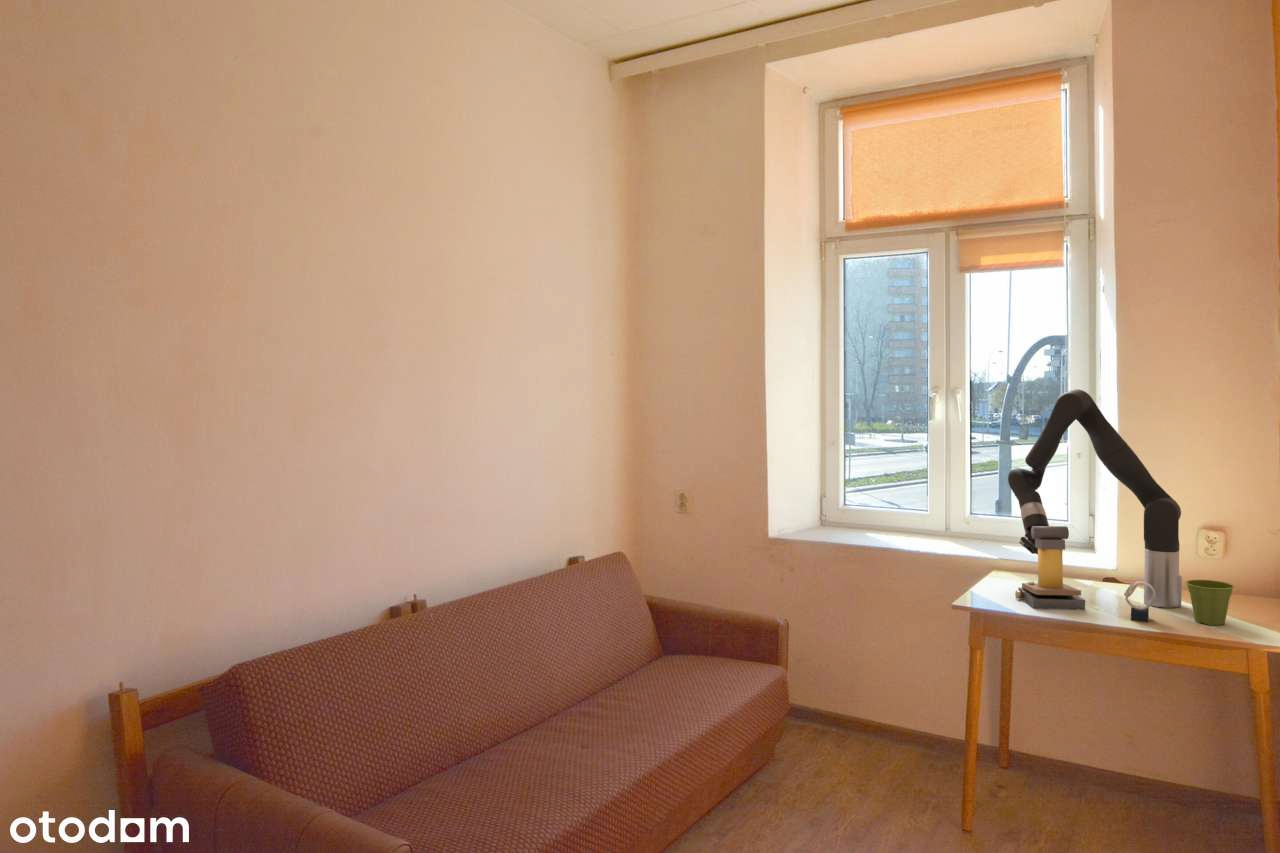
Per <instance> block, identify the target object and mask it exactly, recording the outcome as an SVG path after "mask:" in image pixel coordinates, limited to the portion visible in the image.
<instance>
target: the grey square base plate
mask: <svg viewBox="0 0 1280 853" xmlns="http://www.w3.org/2000/svg"><path fill="white" fill-rule="evenodd" d="M1014 595H1015V598H1016V599H1020V600H1022V601H1023V602H1025V603H1026V604H1027V605H1028V606H1029V607H1031V608H1032V609H1034V610H1035V609H1040V610H1041V609H1042V610H1077V609H1080V610H1081V611H1083V610H1086V599H1084V598H1083V597H1081V596H1076V595H1036V594H1034V593H1032V592H1030V591H1028V590H1026V589H1024V588H1022V587H1018V590H1015V593H1014Z"/></svg>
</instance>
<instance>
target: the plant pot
mask: <svg viewBox="0 0 1280 853" xmlns="http://www.w3.org/2000/svg"><path fill="white" fill-rule="evenodd" d="M1185 584H1186V585H1187V587H1188V588H1187V589H1188V592H1189V595H1190V601H1191V605H1192V606H1191V607H1192V611H1193V617H1194V621H1195V622H1196V623H1199V624H1200V623H1202V624H1204V625H1206V624H1207V625H1206V626H1221V625H1225V624H1226V620H1227V615H1228V610H1229V609H1228V608H1229V603H1230V600H1231V599H1230V598H1231V596H1232V592H1233V590H1234V589H1235V587H1236V586H1235V584H1233V583H1229V582H1225V581H1219V580H1213V579H1212V580H1211V579H1189V580H1186V581H1185Z"/></svg>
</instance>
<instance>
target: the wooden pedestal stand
mask: <svg viewBox="0 0 1280 853" xmlns="http://www.w3.org/2000/svg"><path fill="white" fill-rule="evenodd" d="M1069 531H1070V530H1069V528H1068V526H1067V525H1066V526H1062V525H1061V526H1060V525H1059V526H1055V525H1053V526H1052V525H1049V526H1032V528H1031V536H1032V538H1033V539H1035V547H1036V548H1038V555H1037V574H1038V575H1037V576H1038V577H1037V583H1035V581H1031V580H1030V581H1027V582H1022V583H1021V588H1024V589H1026V590H1028V591H1030V592H1032V593H1034V594H1036V595H1076V596H1080V597H1081V596H1082V590H1080V589H1078V588H1076V587H1073V586H1070V585H1068V584H1066V583H1064V577H1063V576H1064V569H1063V568H1064V566H1063V560H1064V558H1063V550H1064V551H1065V550H1066V540H1068V539H1069V537H1070V536H1069V535H1070V532H1069Z"/></svg>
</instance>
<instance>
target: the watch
mask: <svg viewBox="0 0 1280 853" xmlns="http://www.w3.org/2000/svg"><path fill="white" fill-rule="evenodd" d="M1139 585H1143V586H1144V585H1147V586H1148V587H1150V588H1151V589H1152V591H1153V592H1154V593H1153V596H1152V598H1151V600H1150V602H1149V603H1148V604H1146V605H1145V606H1140V605H1137V606H1136V605H1134V604H1133V603H1132V602H1131V601H1130V600H1129V598H1130V597H1131V596H1132V595H1133V593H1134V592H1135V590H1136V589H1137V587H1138V586H1139ZM1123 596H1124V597H1125V601H1126V603H1127V604H1128V606H1129V607H1130V608H1131V609H1130V621H1131V622H1132V621H1134V622H1142V623H1149V619H1150V618H1149V616H1150V614H1149V613H1150V610H1149V609H1150V607H1152V606H1151V605H1152V604H1153V602H1154V600H1155V597H1156V596H1155V590H1154V588H1153V587H1152V586H1151V585H1150V584H1148V583H1146V582H1144V580H1136V581H1132V582H1131V583H1130V584H1129V586H1128V587H1127V588H1126V590H1125V592H1124V594H1123Z"/></svg>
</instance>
